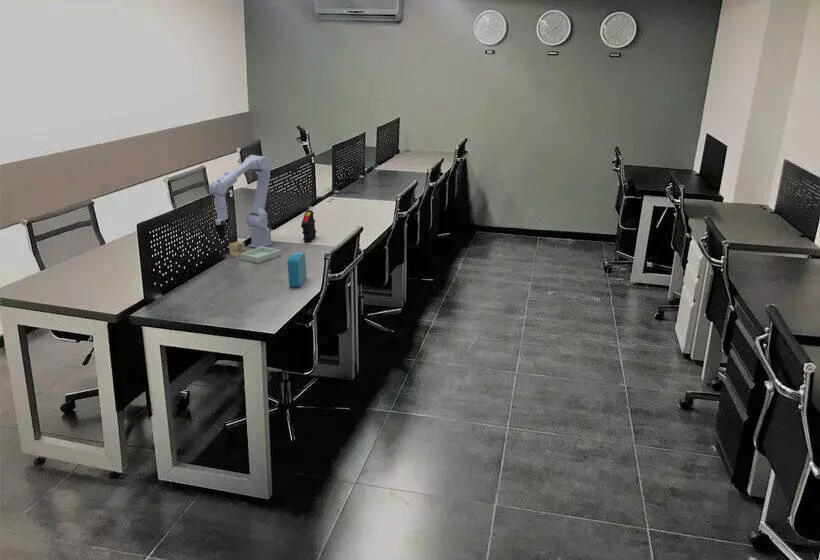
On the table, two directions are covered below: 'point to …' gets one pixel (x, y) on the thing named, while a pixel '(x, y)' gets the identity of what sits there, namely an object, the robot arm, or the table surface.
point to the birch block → (236, 249)
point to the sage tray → (260, 255)
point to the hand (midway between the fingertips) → (223, 236)
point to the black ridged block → (308, 226)
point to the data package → (296, 269)
